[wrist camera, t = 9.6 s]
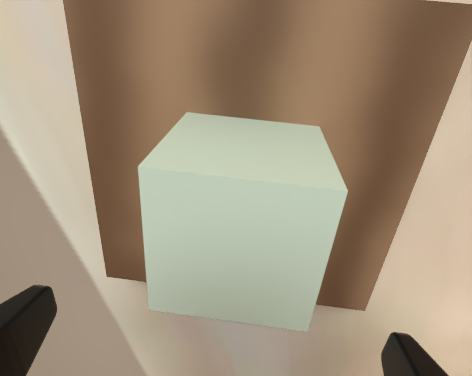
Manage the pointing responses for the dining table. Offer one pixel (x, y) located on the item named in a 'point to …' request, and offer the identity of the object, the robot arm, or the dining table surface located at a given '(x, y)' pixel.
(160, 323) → the dining table surface
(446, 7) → the walnut board
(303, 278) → the sage cube
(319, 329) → the dining table surface
